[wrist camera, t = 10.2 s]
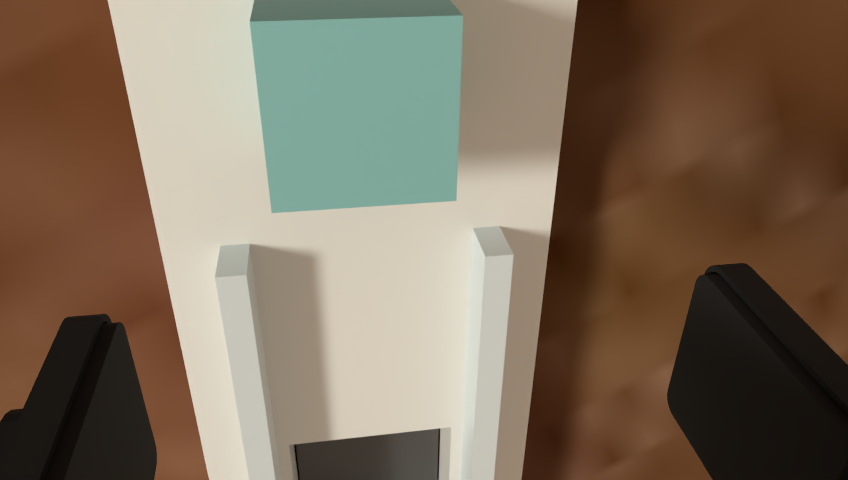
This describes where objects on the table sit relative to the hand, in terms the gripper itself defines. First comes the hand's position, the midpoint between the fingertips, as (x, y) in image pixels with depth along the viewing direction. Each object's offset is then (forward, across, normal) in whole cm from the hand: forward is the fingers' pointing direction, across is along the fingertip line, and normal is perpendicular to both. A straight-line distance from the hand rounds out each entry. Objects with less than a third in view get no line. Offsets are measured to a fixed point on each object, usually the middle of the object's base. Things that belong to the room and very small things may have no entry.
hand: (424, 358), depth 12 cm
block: (+13, 0, -1) cm, 13 cm away
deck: (+16, 0, +9) cm, 18 cm away
